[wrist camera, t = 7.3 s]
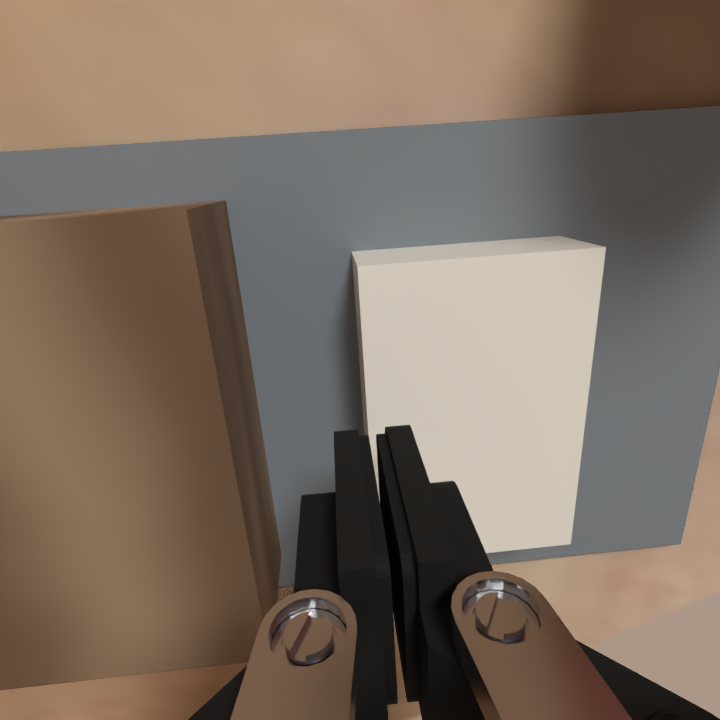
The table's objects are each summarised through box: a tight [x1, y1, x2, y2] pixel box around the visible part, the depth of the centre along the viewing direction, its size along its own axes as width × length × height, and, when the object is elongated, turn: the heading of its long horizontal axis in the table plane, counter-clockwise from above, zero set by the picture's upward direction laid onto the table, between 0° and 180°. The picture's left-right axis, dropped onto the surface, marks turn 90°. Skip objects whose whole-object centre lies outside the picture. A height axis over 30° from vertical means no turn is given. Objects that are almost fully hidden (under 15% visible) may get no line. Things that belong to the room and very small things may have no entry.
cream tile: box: [352, 236, 606, 553], centre depth 14 cm, size 6×9×2 cm, turn 4°
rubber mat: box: [0, 106, 720, 587], centre depth 15 cm, size 30×15×1 cm, turn 94°
